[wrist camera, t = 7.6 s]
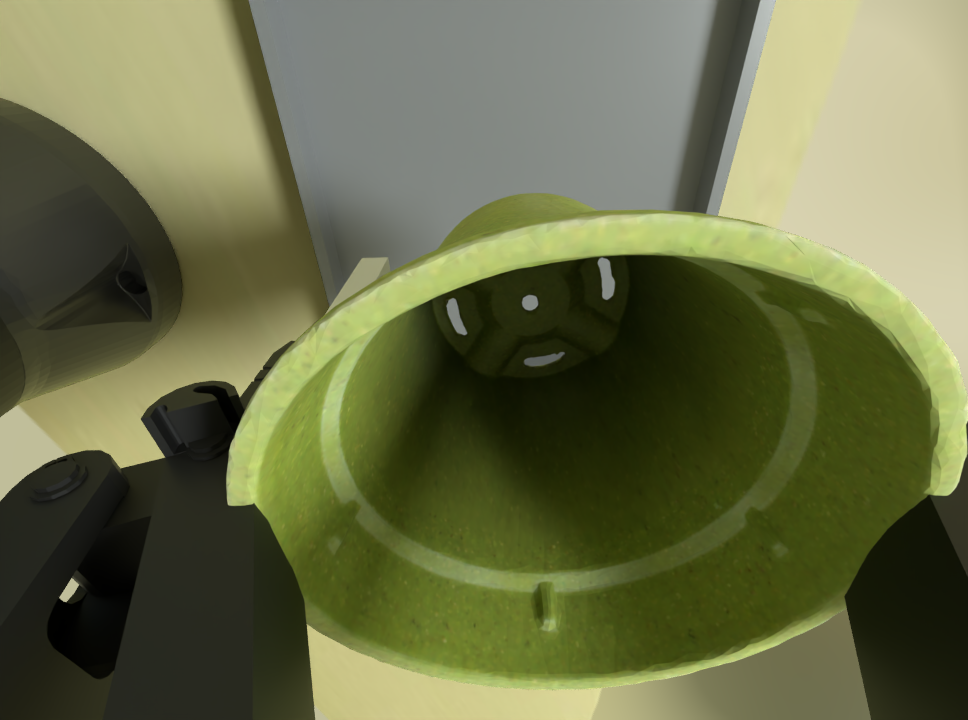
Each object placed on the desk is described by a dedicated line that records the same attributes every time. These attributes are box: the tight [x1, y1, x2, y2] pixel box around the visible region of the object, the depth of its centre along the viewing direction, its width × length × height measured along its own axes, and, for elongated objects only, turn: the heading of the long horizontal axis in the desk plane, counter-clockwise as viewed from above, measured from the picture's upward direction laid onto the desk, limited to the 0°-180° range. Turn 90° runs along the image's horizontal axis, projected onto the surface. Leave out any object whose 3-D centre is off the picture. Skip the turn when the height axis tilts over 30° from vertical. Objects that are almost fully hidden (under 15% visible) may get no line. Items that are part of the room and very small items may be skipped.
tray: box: [249, 0, 776, 366], centre depth 22 cm, size 21×21×2 cm
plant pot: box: [226, 193, 968, 690], centre depth 10 cm, size 9×9×9 cm
